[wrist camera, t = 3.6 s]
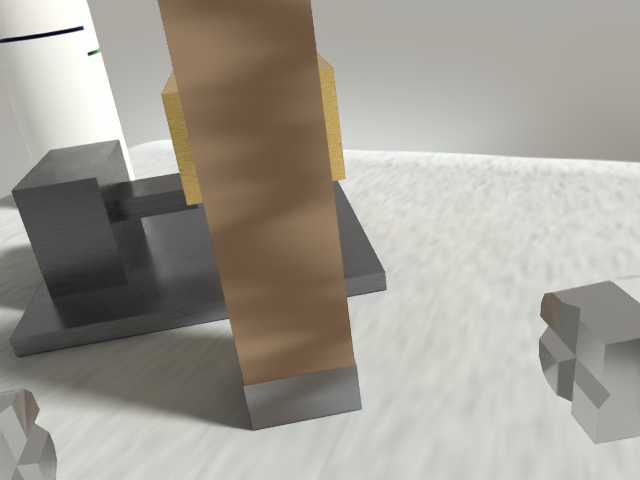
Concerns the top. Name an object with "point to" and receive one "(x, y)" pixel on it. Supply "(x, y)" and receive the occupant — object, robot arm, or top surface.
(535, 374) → the top surface
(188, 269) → the cup bracket
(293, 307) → the rail post
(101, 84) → the cylindrical container
